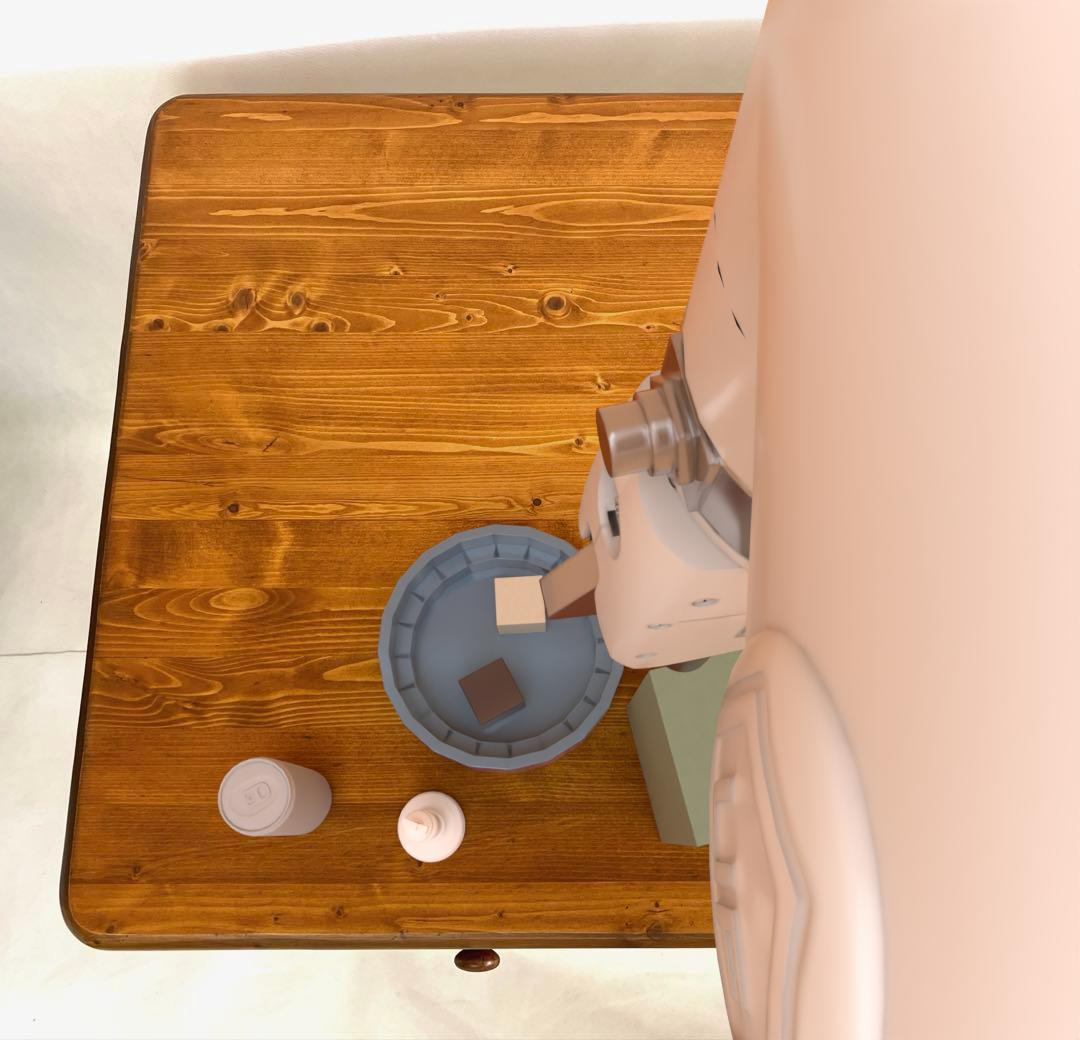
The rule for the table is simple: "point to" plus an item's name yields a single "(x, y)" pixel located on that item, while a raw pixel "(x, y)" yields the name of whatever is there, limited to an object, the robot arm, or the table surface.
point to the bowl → (491, 654)
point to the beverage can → (273, 798)
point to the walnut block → (492, 693)
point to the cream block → (519, 605)
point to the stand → (680, 744)
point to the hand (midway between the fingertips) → (712, 603)
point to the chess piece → (431, 826)
